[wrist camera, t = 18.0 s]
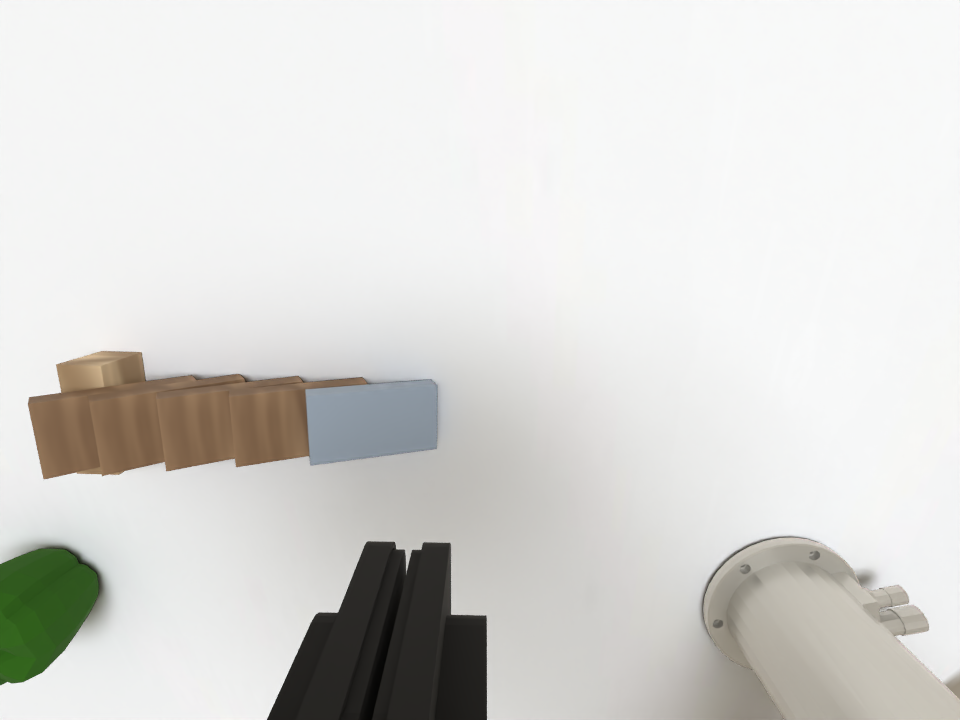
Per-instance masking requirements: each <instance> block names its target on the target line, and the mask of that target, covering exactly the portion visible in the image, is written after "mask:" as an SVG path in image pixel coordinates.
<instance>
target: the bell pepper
mask: <svg viewBox="0 0 960 720" xmlns="http://www.w3.org/2000/svg"><path fill="white" fill-rule="evenodd" d="M98 591H99V584H98V579H97V573H95V572H94V571H93V570H92V569H90V568H89V567H88V566H87V565H83V564H79V563H78V561H77V558H76V557H75V556H74V555H72V554H71V553H69V552H68V551H67V550H65V549H38V550H35V551H32V552H29V553H26V554H24V555H21V556H19V557H16V558H14V559H12V560H9V561H7V562H4V563H2V564H0V685H2V684H4V683H6V682H10V683H20V682H24V681H26V680H28V679H30V678H32V677H34V676H36V675H38V674H40V673H42V672H43V671H44V670H45V669H46V668H47V667H48V666H49V665H50V664H51V663H52V662H53V661H54V660H55V659H56V658H57V657H58V656H59V655H60V654H61V653H62V652H63V651H64V650H65V649H66V647H67V646H68V644H69V643H70V642H71V640H72V639H73V637H74V636H75V635H76V633H77V632H78V630H79V629H80V627H81V626H82V624H83V623H84V621H85V619H86V618H87V616H88V615H89V613H90V611H91V610H92V607H93V605H94V603H95V601H96V599H97V596H98Z"/></svg>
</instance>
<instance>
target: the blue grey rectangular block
mask: <svg viewBox="0 0 960 720" xmlns="http://www.w3.org/2000/svg"><path fill="white" fill-rule="evenodd" d="M305 393H306V409H307V425H308V441H309V457H310V466H311V465H318V464H326V463H333V462H341V461H349V460H356V459H364V458H371V457H379V456H386V455H394V454H401V453H409V452H416V451H424V450H432V449H437V385H436V384H435V383H434V382H433V381H432V380H431V379H429V380H416V381H404V382H391V383H379V384H366V385H354V386H341V387H329V388H316V389H305Z"/></svg>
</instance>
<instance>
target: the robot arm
mask: <svg viewBox="0 0 960 720" xmlns="http://www.w3.org/2000/svg"><path fill="white" fill-rule="evenodd" d="M908 603H909V598H908V595H907V593H906V592H905V590H904V589H903V588H902V587H901V586H899V585H895V586H889V587H884V588H879V589H878V590H873V591H870V590H869V589H867V588H862V587H861V586H860V583H859V580H858V578H857V576H856V574H855V572H854V571H853V569H852V568H851V567H850V566H849V565H848V564H847V562H846V561H845V560H844V559H842V558H841V557H840V556H839V555H838V554H837V553H835V552H834V551H833V550H831V549H830V548H828V547H826V546H824V545H823V544H821V543H817V542H814V541H811V540H808V539H801V538H777V539H771V540H766V541H763V542H760V543H757V544H755V545H752V546H749V547H748V548H746V549H744V550H742V551H740V552H739V553H737V554H736V555H734V556H733V557H732V558H731V559H729V560H728V561H727V562H726V563H725V564H724V565H723V566H722V567H721V568H720V569H719V570H718V571H717V573H716V574H715V576H714V577H713V579H712V581H711V582H710V584H709V586H708V589H707V592H706V594H705V598H704V606H703V613H704V621H705V624H706V627H707V630H708V632H709V634H710V636H711V638H712V639H713V641H714V643H715V645H716V646H717V647H718V648H719V650H720V651H721V652H722V653H723V654H724V655H725V656H726V657H728V658H729V659H730V660H731V661H733V662H735V663H737V664H739V665H741V666H743V667H745V668H748V669H751V670H754V672H755V673H756V675H757V676H758V678H759V680H760V681H761V683H762V684H763V686H764V688H765V689H766V691H767V692H768V694H769V696H770V697H771V699H772V701H773V702H774V704H775V705H776V707H777V709H778V710H779V712H780V713H781V715H782V717H783V718H784V720H960V699H959V698H958V697H957V696H956V695H955V694H954V693H953V692H951V691H950V690H949V689H948V688H947V687H946V686H945V685H944V684H943V683H942V682H941V681H940V680H939V679H938V678H937V677H936V676H935V675H934V674H933V673H932V672H931V671H930V670H929V669H928V668H927V667H926V666H925V665H924V664H923V663H922V662H921V661H920V660H919V659H918V658H917V657H916V656H914V655H913V654H912V653H911V652H910V651H909V650H908V649H907V648H906V647H905V646H904V645H903V644H902V643H901V642H900V641H899V640H898V639H897V638H896V637H895V636H897V635H902V636H905V635H911V634H916V633H922V632H926V631H928V630H929V624H928V621H927V619H926V617H925V616H924V614H923V613H922V612H921V610H920V609H919V608H917V607H916V606H914V605H907V606H901V607H896V608H891V609H887V611H883V612H879V610H880V608H882V607H887V606H889V607H893V606H898V605H903V604H908ZM267 720H487V618H486V616H473V615H451V544H450V543H425V542H424V543H423V546H422V550H412V553H411V557H410V561H409V565H408V570H407V574H406V556H405V550H396V545H395V542H369V541H368V542H366V544H365V546H364V549H363V551H362V554H361V556H360V559H359V561H358V564H357V567H356V569H355V572H354V574H353V577H352V579H351V582H350V584H349V587H348V589H347V592H346V594H345V597H344V599H343V602H342V604H341V607H340V609H339V612H338V613H318V614H316V615H315V617H314V619H313V620H312V622H311V624H310V626H309V629H308V631H307V633H306V635H305V637H304V640H303V642H302V644H301V646H300V648H299V651H298V653H297V655H296V657H295V659H294V662H293V664H292V666H291V668H290V670H289V672H288V675H287V677H286V679H285V681H284V683H283V686H282V688H281V690H280V692H279V694H278V697H277V699H276V701H275V703H274V705H273V708H272V710H271V712H270V714H269V716H268V719H267Z"/></svg>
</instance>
